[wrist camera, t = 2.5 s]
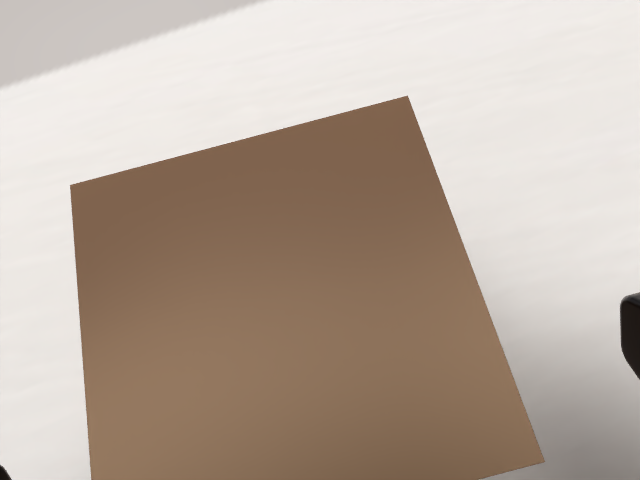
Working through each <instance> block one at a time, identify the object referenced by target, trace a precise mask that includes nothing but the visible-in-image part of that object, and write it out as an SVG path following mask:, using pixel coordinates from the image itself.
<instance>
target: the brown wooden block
mask: <svg viewBox="0 0 640 480" xmlns="http://www.w3.org/2000/svg"><path fill="white" fill-rule="evenodd" d="M70 189H71V203H72V217H73V231H74V245H75V259H76V273H77V286H78V300H79V314H80V328H81V342H82V356H83V370H84V384H85V397H86V411H87V425H88V439H89V453H90V467H91V480H478V479H482V478H486V477H490V476H493V475H497V474H501V473H505V472H508V471H512V470H516V469H520V468H524V467H527V466H531V465H535V464H539V463H543V462H545V461H544V458H543V456H542V453H541V450H540V448H539V445H538V442H537V440H536V437H535V434H534V432H533V429H532V426H531V424H530V421H529V418H528V416H527V413H526V410H525V408H524V405H523V402H522V400H521V397H520V394H519V392H518V389H517V386H516V384H515V381H514V378H513V376H512V373H511V370H510V368H509V365H508V362H507V360H506V357H505V354H504V352H503V349H502V346H501V344H500V341H499V338H498V336H497V333H496V330H495V328H494V325H493V322H492V320H491V317H490V314H489V312H488V309H487V306H486V304H485V301H484V298H483V296H482V293H481V290H480V288H479V285H478V282H477V280H476V277H475V274H474V272H473V269H472V266H471V264H470V261H469V258H468V256H467V253H466V250H465V248H464V245H463V242H462V240H461V237H460V234H459V232H458V229H457V226H456V224H455V221H454V218H453V216H452V213H451V210H450V208H449V205H448V202H447V200H446V197H445V194H444V191H443V189H442V186H441V183H440V181H439V178H438V175H437V173H436V170H435V167H434V165H433V162H432V159H431V157H430V154H429V151H428V149H427V146H426V143H425V141H424V138H423V135H422V133H421V130H420V127H419V125H418V122H417V119H416V117H415V114H414V111H413V109H412V106H411V103H410V101H409V98H408V96H405V97H401V98H397V99H393V100H390V101H386V102H382V103H378V104H375V105H371V106H367V107H363V108H359V109H356V110H352V111H348V112H344V113H341V114H337V115H333V116H329V117H326V118H322V119H318V120H314V121H310V122H307V123H303V124H299V125H295V126H292V127H288V128H284V129H280V130H276V131H273V132H269V133H265V134H261V135H258V136H254V137H250V138H246V139H243V140H239V141H235V142H231V143H227V144H224V145H220V146H216V147H212V148H209V149H205V150H201V151H197V152H193V153H190V154H186V155H182V156H178V157H175V158H171V159H167V160H163V161H159V162H156V163H152V164H148V165H144V166H141V167H137V168H133V169H129V170H126V171H122V172H118V173H114V174H110V175H107V176H103V177H99V178H95V179H92V180H88V181H84V182H80V183H76V184H73V185H70Z"/></svg>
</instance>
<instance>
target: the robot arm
mask: <svg viewBox="0 0 640 480" xmlns="http://www.w3.org/2000/svg"><path fill="white" fill-rule="evenodd" d="M620 326H621V348H622V352H623V354H624V357H625V359H626V361H627V362H628V364H629V365H630V367H631V368H632V370H633V371H634V372H635V374H636V375H637V377H638V378H639V379H640V292H639V293H636V294H632V295H628V296H626V297H624V298H623V299H622V301H621V304H620ZM0 480H12V479H11V478H10V476H9V475H8V473H7V471H6V470H5V469H4V467H3V466H1V465H0Z"/></svg>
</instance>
